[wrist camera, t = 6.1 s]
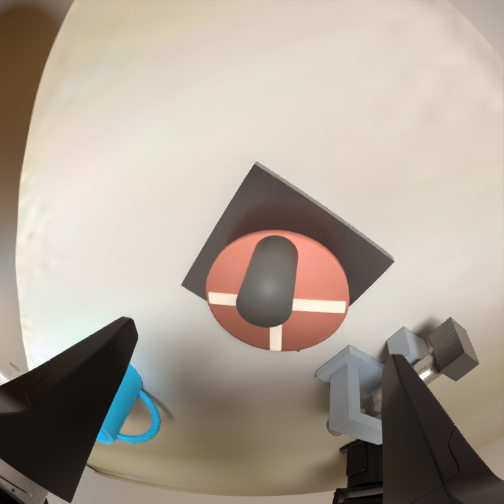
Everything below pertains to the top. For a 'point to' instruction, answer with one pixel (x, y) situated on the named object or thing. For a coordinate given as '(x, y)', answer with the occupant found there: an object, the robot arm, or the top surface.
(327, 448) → the top surface
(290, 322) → the handwheel
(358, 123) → the top surface
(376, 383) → the eye bracket
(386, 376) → the robot arm
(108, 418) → the mug
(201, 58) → the top surface
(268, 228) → the wheel mount
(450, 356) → the hook rod
